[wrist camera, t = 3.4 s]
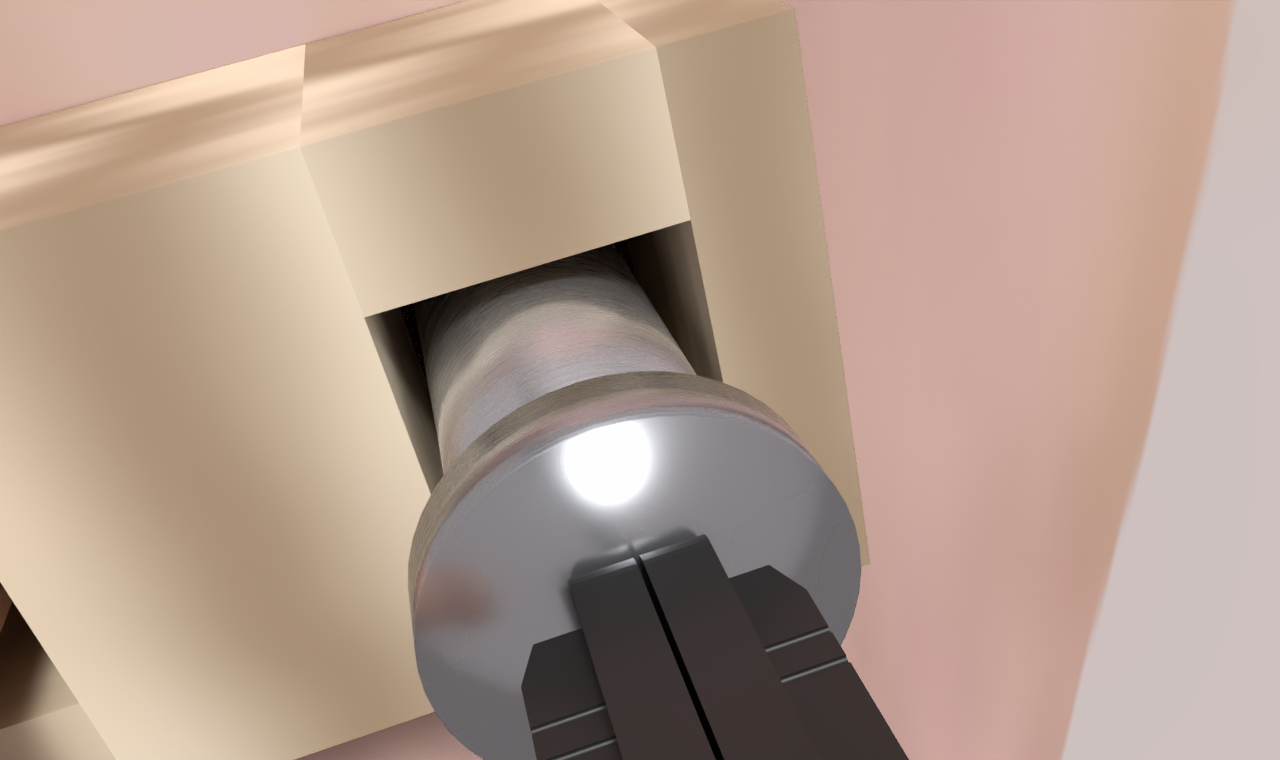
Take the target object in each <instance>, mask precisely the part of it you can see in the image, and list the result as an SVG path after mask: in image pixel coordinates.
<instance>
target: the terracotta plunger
mask: <svg viewBox="0 0 1280 760" xmlns="http://www.w3.org/2000/svg"><path fill="white" fill-rule="evenodd" d="M11 603H12V599H11V598H10V596H9V595H8V593H7V592H6V590H5V588H4V587H3V585H2V584H1V582H0V633H1V630H2V627H3V625H4V622H5V619H6V617H7V614H8V611H9V609H10V606H11Z"/></svg>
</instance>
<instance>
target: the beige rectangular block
mask: <svg viewBox="0 0 1280 760" xmlns="http://www.w3.org/2000/svg"><path fill="white" fill-rule="evenodd" d="M625 239H627V243H628V248H629V252H630V256H631V260H632V265H633V269H634V273H635V277H636V280H637V281H638V283H639V284H640V286H641V288H642V289H643V291H644V292H645V294H646V296H647V297H648V299H649V300H650V302H651V303H652V305H653V307H654V308H655V310H656V311H657V313H658V314H659V316H660V318H661V319H662V321H663V322H664V324H665V326H666V327H667V329H668V330H669V332H670V333H671V335H672V337H673V338H674V340H675V341H676V343H677V345H678V346H679V348H680V349H681V351H682V352H683V354H684V356H685V357H686V359H687V360H688V362H689V364H690V365H691V367H692V368H693V370H694V371H695V373H696V375H697V376H701V377H705V378H709V379H713V380H717V381H720V382H723V383H725V384H728V385H730V386H733V387H735V388H738V389H740V390H743V391H744V392H746V393H748V394H750V395H751V396H753V397H755V398H756V399H758V400H760V401H762V402H763V403H765V404H766V405H767V406H769V407H770V408H771V409H772V410H774V411H775V412H776V413H777V414H778V415H780V416H781V417H782V418H783V419H784V420H785V421H786V422H787V423H788V424H789V425H790V426H791V428H792V429H793V430H794V431H795V432H796V433H797V434H798V435H799V437H800V438H801V440H802V441H803V442H804V444H805V445H806V446H807V448H808V449H809V451H810V452H811V453H812V455H813V456H814V457H815V459H816V460H817V461H818V463H819V464H820V466H821V467H822V468H823V470H824V471H825V472H826V474H827V475H828V477H829V478H830V479H831V481H832V482H833V483H834V485H835V487H836V488H837V490H838V491H839V493H840V494H841V496H842V498H843V499H844V501H845V502H846V504H847V507H848V509H849V512H850V514H851V516H852V519H853V521H854V524H855V527H856V532H857V536H858V541H859V545H860V557H861V566H864V565H867V564H870V559H869V551H868V544H867V536H866V529H865V522H864V514H863V507H862V500H861V492H860V485H859V478H858V470H857V463H856V456H855V448H854V441H853V434H852V426H851V419H850V412H849V404H848V397H847V389H846V382H845V375H844V367H843V360H842V353H841V345H840V338H839V331H838V323H837V316H836V309H835V301H834V294H833V287H832V279H831V272H830V264H829V257H828V250H827V242H826V235H825V228H824V220H823V213H822V206H821V198H820V191H819V184H818V176H817V169H816V162H815V154H814V147H813V140H812V132H811V125H810V117H809V110H808V103H807V95H806V88H805V81H804V73H803V66H802V59H801V51H800V44H799V37H798V29H797V22H796V15H795V8H793V7H791V6H789V5H787V4H785V3H783V2H781V1H779V0H467V1H463V2H460V3H456V4H452V5H449V6H445V7H441V8H438V9H434V10H430V11H426V12H423V13H419V14H415V15H412V16H408V17H404V18H401V19H397V20H393V21H389V22H386V23H382V24H378V25H375V26H371V27H367V28H364V29H360V30H356V31H352V32H349V33H345V34H341V35H338V36H334V37H330V38H327V39H323V40H319V41H315V42H312V43H308V44H304V45H301V46H297V47H293V48H289V49H286V50H282V51H278V52H275V53H271V54H267V55H264V56H260V57H256V58H252V59H249V60H245V61H241V62H238V63H234V64H230V65H227V66H223V67H219V68H215V69H212V70H208V71H204V72H201V73H197V74H193V75H190V76H186V77H182V78H178V79H175V80H171V81H167V82H164V83H160V84H156V85H153V86H149V87H145V88H141V89H138V90H134V91H130V92H127V93H123V94H119V95H116V96H112V97H108V98H104V99H101V100H97V101H93V102H90V103H86V104H82V105H79V106H75V107H71V108H67V109H64V110H60V111H56V112H53V113H49V114H45V115H41V116H38V117H34V118H30V119H27V120H23V121H19V122H16V123H12V124H8V125H4V126H1V127H0V582H1V584H2V585H3V587H4V588H5V590H6V592H7V593H8V595H9V596H10V598H11V599H12V603H11V606H10V609H9V611H8V614H7V617H6V619H5V622H4V625H3V627H2V630H1V633H0V760H295V759H298V758H301V757H303V756H306V755H309V754H312V753H315V752H318V751H321V750H324V749H327V748H330V747H333V746H336V745H339V744H342V743H345V742H348V741H350V740H353V739H356V738H359V737H362V736H365V735H368V734H371V733H374V732H377V731H380V730H383V729H386V728H389V727H392V726H395V725H397V724H400V723H403V722H406V721H409V720H412V719H415V718H418V717H421V716H424V715H427V714H430V713H433V712H435V711H434V709H433V707H432V706H431V704H430V702H429V700H428V698H427V696H426V694H425V692H424V689H423V686H422V683H421V680H420V677H419V674H418V669H417V662H416V655H415V648H414V639H413V630H412V621H411V612H410V603H409V593H408V561H409V556H410V551H411V545H412V540H413V536H414V533H415V530H416V527H417V525H418V522H419V519H420V516H421V513H422V511H423V509H424V507H425V505H426V504H427V502H428V500H429V498H430V496H431V494H432V492H433V490H434V488H435V487H436V486H437V484H438V483H439V481H440V480H441V478H442V477H443V476H444V471H443V466H442V460H441V455H440V449H439V443H438V438H437V432H436V427H435V421H434V415H433V410H432V404H431V398H430V393H429V388H428V386H427V383H426V380H425V377H424V374H423V372H422V369H421V366H420V363H419V360H418V358H417V355H416V352H415V349H414V346H413V344H412V341H411V338H410V335H409V332H408V330H407V327H406V324H405V321H404V319H403V316H402V313H401V310H400V307H401V306H405V305H408V304H411V303H415V302H418V301H421V300H425V299H428V298H431V297H435V296H438V295H441V294H445V293H448V292H451V291H455V290H458V289H461V288H465V287H468V286H471V285H475V284H478V283H481V282H485V281H488V280H491V279H495V278H498V277H502V276H505V275H508V274H512V273H515V272H518V271H522V270H525V269H528V268H532V267H535V266H538V265H542V264H545V263H548V262H552V261H555V260H558V259H562V258H565V257H568V256H572V255H575V254H578V253H582V252H585V251H589V250H592V249H595V248H599V247H602V246H605V245H609V244H612V243H615V242H619V241H622V240H625Z"/></svg>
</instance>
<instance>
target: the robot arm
mask: <svg viewBox="0 0 1280 760" xmlns="http://www.w3.org/2000/svg"><path fill="white" fill-rule="evenodd" d="M639 561H640V565H641V569H642V573H643V577H644V580H645V583H644V580H643V578H642V576H641V573H640V571H639V568H638V566H637V563H636V561H635V559H634V558H631V559H628V560H625V561H622V562H618V563H615V564H612V565H609V566H606V567H603V568H600V569H597V570H594V571H591V572H588V573H585V574H582V575H579V576H576V577H573V578H570V579H568V582H569V586H570V589H571V592H572V595H573V599H574V602H575V605H576V608H577V612H578V615H579V618H580V621H581V625H582V628H580V629H577V630H574V631H572V632H569V633H566V634H563V635H560V636H557V637H554V638H551V639H548V640H545V641H542V642H539V643H536V644H533V646H532V650H531V653H530V657H529V660H528V664H527V667H526V671H525V674H524V678H523V681H522V685H521V690H522V694H523V699H524V703H525V708H526V712H527V717H528V722H529V726H530V730H531V733H532V740H533V744H534V749H535V753H536V758H537V760H909V759H908V758H907V756H906V754H905V753H904V751H903V749H902V748H901V746H900V744H899V743H898V741H897V739H896V738H895V736H894V734H893V733H892V731H891V729H890V728H889V726H888V724H887V723H886V721H885V719H884V718H883V716H882V714H881V713H880V711H879V709H878V708H877V706H876V704H875V703H874V701H873V699H872V698H871V696H870V694H869V693H868V691H867V689H866V688H865V686H864V684H863V683H862V681H861V679H860V678H859V676H858V674H857V673H856V671H855V669H854V668H853V666H852V664H851V663H850V662H848V660H847V658H846V654H845V653H844V651H843V649H842V648H841V646H840V644H839V643H838V641H837V639H836V638H835V636H834V634H833V633H832V632H830V630H829V627H828V624H827V623H826V621H825V619H824V618H823V616H822V614H821V613H820V611H819V609H818V608H817V606H816V604H815V603H814V601H813V599H812V598H811V596H810V594H809V593H808V591H807V589H805V588H804V587H802V586H801V585H799V584H798V583H796V582H795V581H793V580H792V579H790V578H789V577H787V576H785V575H784V574H782V573H781V572H779V571H778V570H776V569H775V568H773V567H772V566H770V565H767V566H764V567H761V568H758V569H755V570H752V571H749V572H746V573H743V574H740V575H737V576H734V577H731V578H728V576H727V574H726V572H725V570H724V568H723V566H722V564H721V562H720V560H719V558H718V556H717V554H716V552H715V550H714V548H713V546H712V544H711V543H710V541H709V539H708V537H707V536H706V535H705V534H702V535H699V536H696V537H693V538H690V539H687V540H684V541H681V542H678V543H675V544H672V545H669V546H666V547H663V548H660V549H657V550H654V551H651V552H648V553H645V554H642V555H639ZM645 584H646V585H645Z"/></svg>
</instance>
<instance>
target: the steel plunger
mask: <svg viewBox="0 0 1280 760" xmlns="http://www.w3.org/2000/svg"><path fill="white" fill-rule="evenodd" d="M414 309H415V314H416V320H417V326H418V331H419V337H420V342H421V348H422V354H423V359H424V365H425V370H426V376H427V382H428V387H429V393H430V398H431V404H432V410H433V415H434V421H435V427H436V432H437V438H438V443H439V449H440V455H441V460H442V466H443V471H444V476H443V477H442V478H441V480H440V481H439V483H438V484H437V486H436V487H435V488H434V490H433V492H432V494H431V496H430V498H429V500H428V502H427V504H426V505H425V507H424V509H423V511H422V513H421V516H420V519H419V522H418V525H417V527H416V530H415V533H414V536H413V540H412V545H411V551H410V556H409V561H408V593H409V603H410V612H411V621H412V630H413V639H414V648H415V655H416V662H417V669H418V674H419V677H420V680H421V683H422V686H423V689H424V692H425V694H426V696H427V698H428V700H429V702H430V704H431V706H432V707H433V709H434V711H435V713H436V715H437V716H438V717H439V719H440V720H441V721H442V722H443V724H444V725H445V726H446V728H447V729H448V730H449V731H450V733H451V734H452V735H454V736H455V737H456V738H457V739H458V740H459V741H460V742H461V743H462V744H463V745H464V746H465V747H467V748H468V749H469V750H471V751H472V752H474V753H475V754H476V755H478V756H479V757H481V758H482V759H484V760H537V758H536V753H535V749H534V744H533V740H532V733H531V730H530V726H529V722H528V717H527V712H526V708H525V703H524V699H523V694H522V690H521V685H522V681H523V678H524V674H525V671H526V667H527V664H528V660H529V657H530V653H531V650H532V646H533V644H536V643H539V642H542V641H545V640H548V639H551V638H554V637H557V636H560V635H563V634H566V633H569V632H572V631H574V630H577V629H580V628H582V625H581V621H580V618H579V615H578V612H577V608H576V605H575V602H574V599H573V595H572V592H571V589H570V586H569V582H568V579H570V578H573V577H576V576H579V575H582V574H585V573H588V572H591V571H594V570H597V569H600V568H603V567H606V566H609V565H612V564H615V563H618V562H622V561H625V560H628V559H631V558H634V559H635V561H636V563H637V566H638V568H639V571H640V573H641V576H642V578H643V580H644V577H643V573H642V569H641V565H640V561H639V555H642V554H645V553H648V552H651V551H654V550H657V549H660V548H663V547H666V546H669V545H672V544H675V543H678V542H681V541H684V540H687V539H690V538H693V537H696V536H699V535H702V534H705V535H706V536H707V537H708V539H709V541H710V543H711V544H712V546H713V548H714V550H715V552H716V554H717V556H718V558H719V560H720V562H721V564H722V566H723V568H724V570H725V572H726V574H727V576H728V578H731V577H734V576H737V575H740V574H743V573H746V572H749V571H752V570H755V569H758V568H761V567H764V566H767V565H770V566H772V567H773V568H775V569H776V570H778V571H779V572H781V573H782V574H784V575H785V576H787V577H789V578H790V579H792V580H793V581H795V582H796V583H798V584H799V585H801V586H802V587H804V588H805V589H807V591H808V593H809V594H810V596H811V598H812V599H813V601H814V603H815V604H816V606H817V608H818V609H819V611H820V613H821V614H822V616H823V618H824V619H825V621H826V623H827V624H828V627H829V630H830V632H832V633H833V634H834V636H835V638H836V639H837V641H838V643H839V644H840V646H841V644H842V642H843V640H844V638H845V636H846V633H847V631H848V628H849V626H850V623H851V620H852V618H853V615H854V611H855V607H856V603H857V599H858V595H859V588H860V577H861V557H860V545H859V541H858V536H857V532H856V527H855V524H854V521H853V519H852V516H851V514H850V512H849V509H848V507H847V504H846V502H845V501H844V499H843V498H842V496H841V494H840V493H839V491H838V490H837V488H836V487H835V485H834V483H833V482H832V481H831V479H830V478H829V477H828V475H827V474H826V472H825V471H824V470H823V468H822V467H821V466H820V464H819V463H818V461H817V460H816V459H815V457H814V456H813V455H812V453H811V452H810V451H809V449H808V448H807V446H806V445H805V444H804V442H803V441H802V440H801V438H800V437H799V435H798V434H797V433H796V432H795V431H794V430H793V429H792V428H791V426H790V425H789V424H788V423H787V422H786V421H785V420H784V419H783V418H782V417H781V416H780V415H778V414H777V413H776V412H775V411H774V410H772V409H771V408H770V407H769V406H767V405H766V404H765V403H763V402H762V401H760V400H758V399H756V398H755V397H753V396H751V395H750V394H748V393H746V392H744V391H743V390H740V389H738V388H735V387H733V386H730V385H728V384H725V383H723V382H720V381H717V380H713V379H709V378H705V377H701V376H697V375H696V373H695V371H694V370H693V368H692V367H691V365H690V364H689V362H688V360H687V359H686V357H685V356H684V354H683V352H682V351H681V349H680V348H679V346H678V345H677V343H676V341H675V340H674V338H673V337H672V335H671V333H670V332H669V330H668V329H667V327H666V326H665V324H664V322H663V321H662V319H661V318H660V316H659V314H658V313H657V311H656V310H655V308H654V307H653V305H652V303H651V302H650V300H649V299H648V297H647V296H646V294H645V292H644V291H643V289H642V288H641V286H640V284H639V283H638V281H637V280H636V278H635V277H634V275H633V273H632V272H631V270H630V269H629V267H628V265H627V264H626V262H625V261H624V259H623V258H622V256H621V254H620V253H619V251H618V250H617V248H616V247H615V245H614V243H612V244H609V245H605V246H602V247H599V248H595V249H592V250H589V251H585V252H582V253H578V254H575V255H572V256H568V257H565V258H562V259H558V260H555V261H552V262H548V263H545V264H542V265H538V266H535V267H532V268H528V269H525V270H522V271H518V272H515V273H512V274H508V275H505V276H502V277H498V278H495V279H491V280H488V281H485V282H481V283H478V284H475V285H471V286H468V287H465V288H461V289H458V290H455V291H451V292H448V293H445V294H441V295H438V296H435V297H431V298H428V299H425V300H421V301H418V302H415V303H414ZM644 583H645V580H644ZM645 585H646V584H645Z"/></svg>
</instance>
